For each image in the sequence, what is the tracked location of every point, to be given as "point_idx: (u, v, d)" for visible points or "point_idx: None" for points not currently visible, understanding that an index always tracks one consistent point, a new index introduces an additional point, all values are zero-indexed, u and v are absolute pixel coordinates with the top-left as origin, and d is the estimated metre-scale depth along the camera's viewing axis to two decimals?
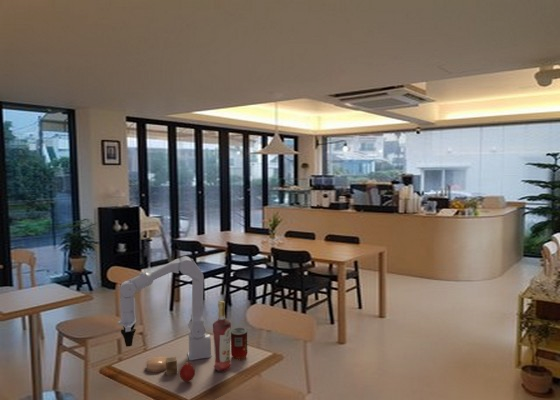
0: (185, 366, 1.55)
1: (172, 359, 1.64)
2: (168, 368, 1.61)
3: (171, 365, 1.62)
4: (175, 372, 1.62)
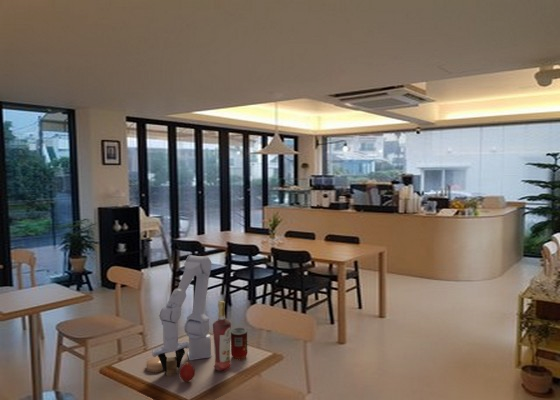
0: (185, 366, 1.55)
1: (172, 359, 1.64)
2: (168, 368, 1.61)
3: (171, 365, 1.62)
4: (175, 372, 1.62)
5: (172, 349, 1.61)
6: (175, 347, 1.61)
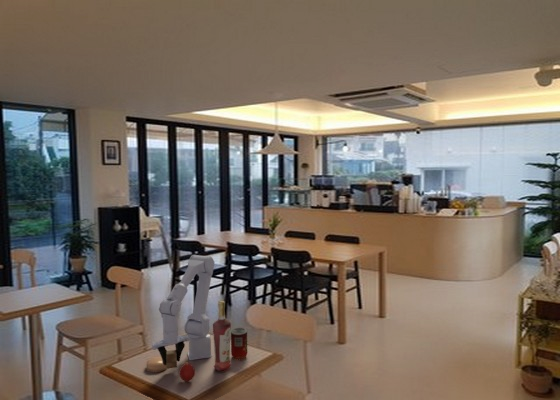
0: (185, 366, 1.55)
1: (171, 352, 1.63)
2: (168, 361, 1.61)
3: (171, 358, 1.62)
4: (175, 365, 1.62)
5: (172, 342, 1.60)
6: (175, 340, 1.61)
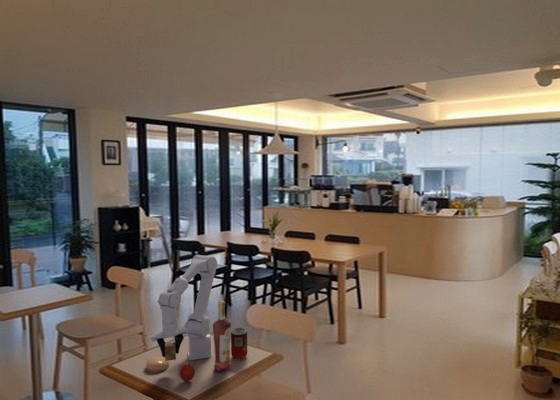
0: (185, 366, 1.55)
1: (170, 344, 1.63)
2: (167, 353, 1.61)
3: (170, 350, 1.62)
4: (174, 357, 1.62)
5: (171, 334, 1.60)
6: (174, 332, 1.61)
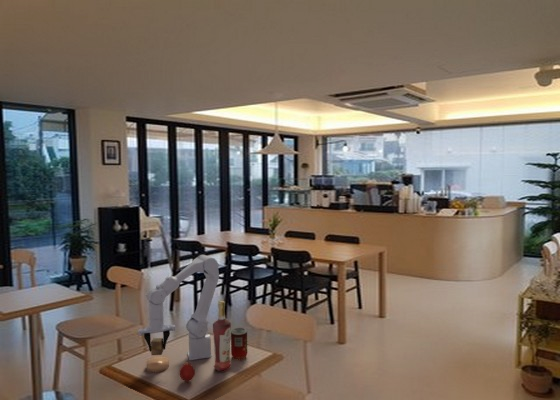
0: (185, 366, 1.55)
1: (157, 340, 1.68)
2: (153, 348, 1.66)
3: (155, 345, 1.66)
4: (159, 352, 1.66)
5: (156, 330, 1.65)
6: (159, 328, 1.65)
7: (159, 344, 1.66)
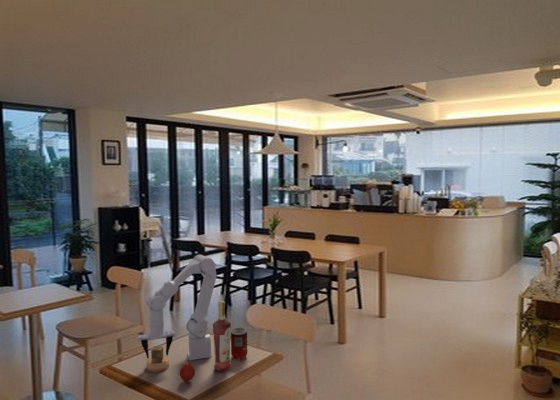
0: (185, 366, 1.55)
1: (158, 348, 1.68)
2: (153, 356, 1.66)
3: (156, 353, 1.66)
4: (160, 361, 1.67)
5: (156, 336, 1.65)
6: (159, 335, 1.66)
7: (159, 352, 1.66)
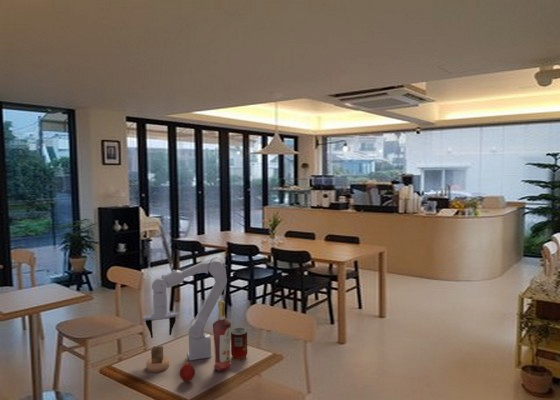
0: (185, 366, 1.55)
1: (158, 348, 1.68)
2: (153, 356, 1.66)
3: (156, 353, 1.66)
4: (160, 361, 1.67)
5: (160, 317, 1.73)
6: (163, 315, 1.73)
7: (159, 352, 1.66)
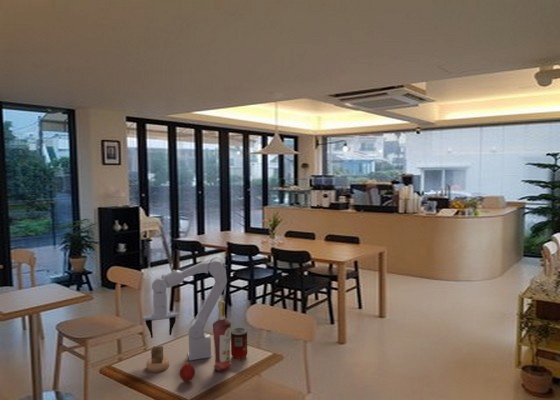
0: (185, 366, 1.55)
1: (158, 348, 1.68)
2: (153, 356, 1.66)
3: (156, 353, 1.66)
4: (160, 361, 1.67)
5: (160, 317, 1.73)
6: (163, 315, 1.74)
7: (159, 352, 1.66)
